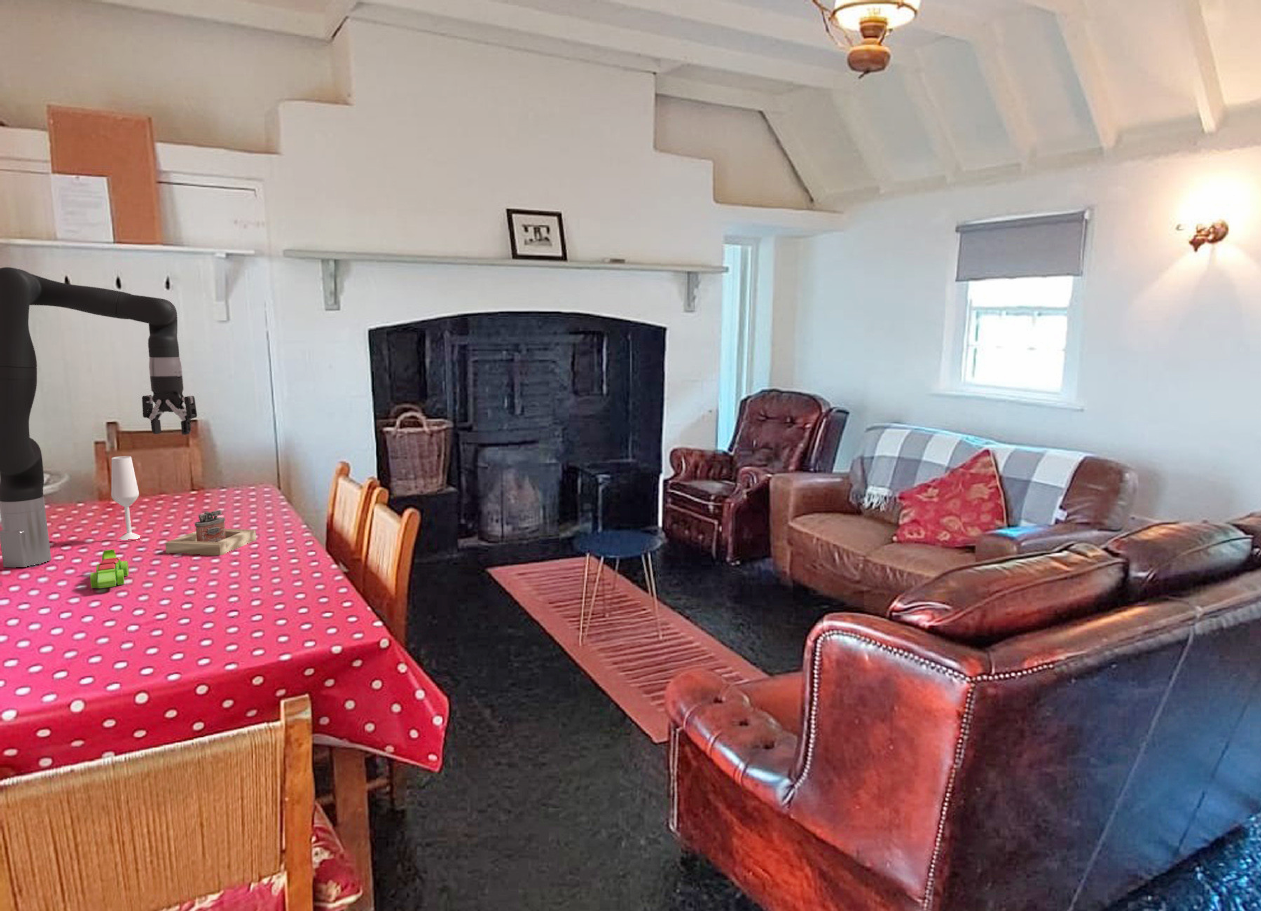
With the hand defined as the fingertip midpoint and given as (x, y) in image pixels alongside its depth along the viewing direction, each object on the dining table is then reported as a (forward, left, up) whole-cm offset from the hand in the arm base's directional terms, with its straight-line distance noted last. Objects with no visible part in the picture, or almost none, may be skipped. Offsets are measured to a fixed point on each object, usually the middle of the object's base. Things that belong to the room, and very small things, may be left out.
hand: (171, 434), depth 214 cm
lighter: (+3, -7, -32) cm, 33 cm away
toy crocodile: (-29, -3, -32) cm, 44 cm away
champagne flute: (+7, +22, -32) cm, 40 cm away
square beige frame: (+3, -7, -32) cm, 33 cm away
